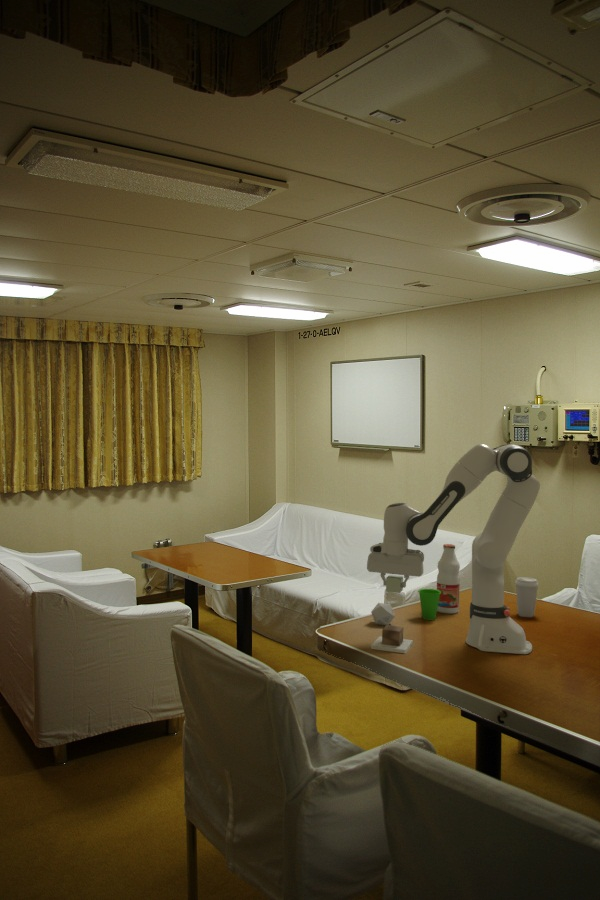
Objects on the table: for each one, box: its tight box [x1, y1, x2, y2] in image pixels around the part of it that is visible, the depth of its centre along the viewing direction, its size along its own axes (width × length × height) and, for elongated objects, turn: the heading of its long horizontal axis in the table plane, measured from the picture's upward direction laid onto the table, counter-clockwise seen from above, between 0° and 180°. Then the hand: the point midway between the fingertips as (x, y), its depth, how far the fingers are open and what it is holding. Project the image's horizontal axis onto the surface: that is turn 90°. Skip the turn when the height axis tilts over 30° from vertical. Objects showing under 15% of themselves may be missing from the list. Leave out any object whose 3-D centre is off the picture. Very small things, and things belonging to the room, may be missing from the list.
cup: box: [418, 588, 441, 621], centre depth 271 cm, size 9×9×11 cm
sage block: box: [385, 574, 404, 594], centre depth 242 cm, size 5×5×5 cm
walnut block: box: [381, 624, 404, 646], centre depth 234 cm, size 6×6×5 cm
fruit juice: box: [436, 543, 461, 615], centre depth 283 cm, size 9×9×28 cm
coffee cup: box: [514, 576, 540, 618], centre depth 280 cm, size 10×10×15 cm
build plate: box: [370, 635, 414, 654], centre depth 234 cm, size 12×12×1 cm
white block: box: [370, 602, 396, 626], centre depth 262 cm, size 8×9×10 cm
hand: (394, 586), depth 242 cm, fingers closed on sage block, 5 cm apart
